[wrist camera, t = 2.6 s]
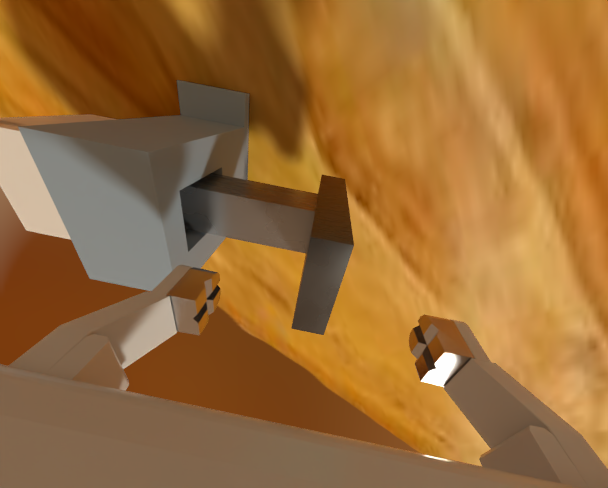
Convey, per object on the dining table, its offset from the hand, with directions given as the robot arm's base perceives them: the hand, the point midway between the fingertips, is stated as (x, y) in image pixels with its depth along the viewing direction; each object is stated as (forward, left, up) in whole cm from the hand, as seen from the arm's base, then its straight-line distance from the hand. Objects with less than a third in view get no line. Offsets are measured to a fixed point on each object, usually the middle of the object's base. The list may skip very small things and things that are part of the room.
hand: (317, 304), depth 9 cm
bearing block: (0, -10, -13) cm, 16 cm away
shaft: (0, -9, -8) cm, 12 cm away
